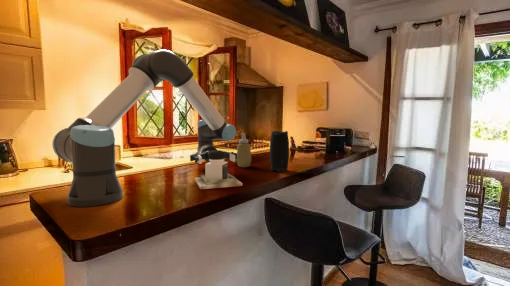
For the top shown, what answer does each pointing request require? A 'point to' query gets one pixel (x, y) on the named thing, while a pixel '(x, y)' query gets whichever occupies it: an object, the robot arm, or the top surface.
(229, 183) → the collar tray
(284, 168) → the portable speaker
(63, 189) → the top surface
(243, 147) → the squeeze bottle
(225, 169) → the medicine bottle
